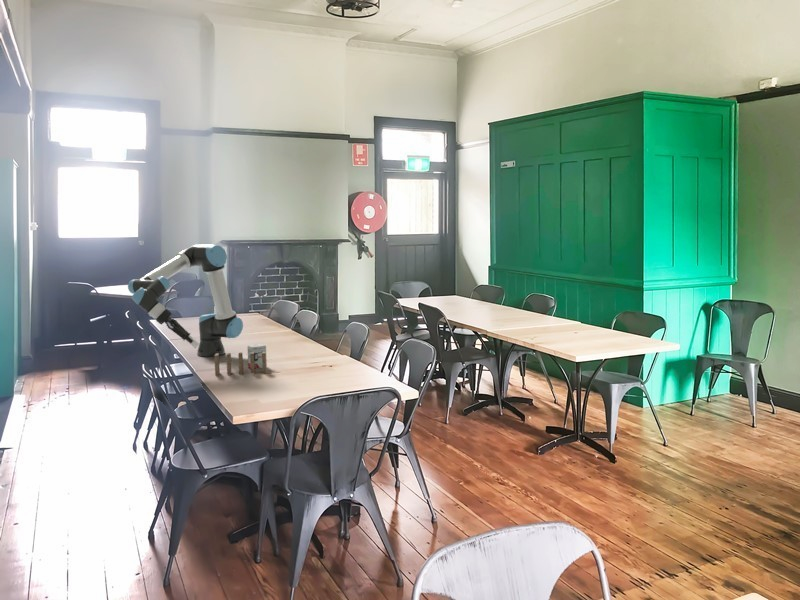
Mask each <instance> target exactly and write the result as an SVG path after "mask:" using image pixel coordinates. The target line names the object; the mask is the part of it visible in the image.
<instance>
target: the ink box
mask: <svg viewBox="0 0 800 600" xmlns="http://www.w3.org/2000/svg"><path fill="white" fill-rule="evenodd" d="M251 352H254V361H255V362H254V364H255V370H257V369H256V368H259V369H263V367H262V352H266V353H267V345H266V344H262V343H257V344H250V345H247V368H248V369H250V370H251V361H250V353H251ZM267 365H268V364H267V359H266V368H267V367H268V366H267Z"/></svg>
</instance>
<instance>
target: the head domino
mask: <svg viewBox="0 0 800 600" xmlns="http://www.w3.org/2000/svg"><path fill="white" fill-rule="evenodd" d="M213 358H214V375H215V376H219V375H220V355H219V353H217V354H215V355H214V356H213Z"/></svg>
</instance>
